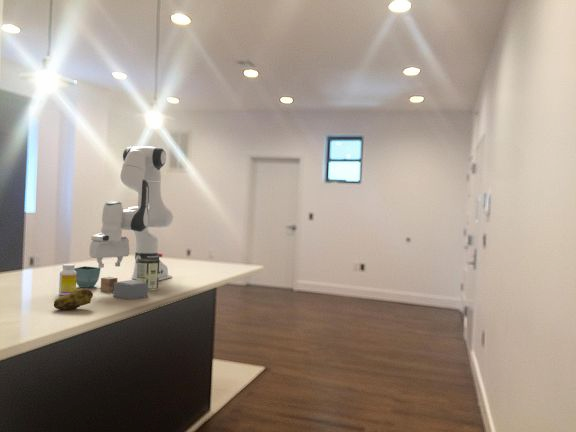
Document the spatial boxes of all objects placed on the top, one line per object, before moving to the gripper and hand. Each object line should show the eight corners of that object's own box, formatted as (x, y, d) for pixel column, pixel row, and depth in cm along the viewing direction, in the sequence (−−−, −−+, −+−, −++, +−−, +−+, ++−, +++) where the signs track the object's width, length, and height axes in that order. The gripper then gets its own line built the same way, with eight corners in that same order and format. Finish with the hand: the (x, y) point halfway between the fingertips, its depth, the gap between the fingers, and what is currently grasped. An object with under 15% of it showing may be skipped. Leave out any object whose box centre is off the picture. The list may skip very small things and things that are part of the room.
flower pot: (89, 289, 227) (90, 269, 227) (72, 287, 228) (73, 268, 228) (100, 286, 235) (101, 267, 235) (83, 284, 237) (84, 266, 237)
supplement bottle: (78, 295, 211) (79, 265, 211) (62, 296, 207) (63, 266, 206) (71, 292, 216) (73, 263, 216) (56, 293, 211) (57, 264, 211)
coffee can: (144, 286, 241) (145, 257, 241) (162, 288, 238) (163, 259, 238) (131, 289, 232) (132, 259, 231) (149, 291, 228) (151, 261, 228)
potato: (58, 306, 187) (59, 285, 187) (93, 307, 189) (94, 286, 189) (51, 311, 179) (52, 289, 179) (88, 312, 181) (89, 290, 181)
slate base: (130, 293, 221) (131, 279, 221) (147, 296, 216) (148, 282, 216) (113, 296, 212) (114, 281, 212) (130, 299, 207) (130, 284, 207)
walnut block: (109, 289, 228) (109, 276, 228) (116, 291, 226) (117, 278, 226) (100, 290, 224) (101, 277, 224) (108, 292, 221) (108, 279, 221)
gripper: (123, 236, 235) (122, 265, 235) (88, 236, 217) (86, 267, 217) (133, 237, 232) (131, 266, 232) (98, 237, 214) (96, 269, 214)
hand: (109, 267), depth 224 cm, fingers open, 8 cm apart
